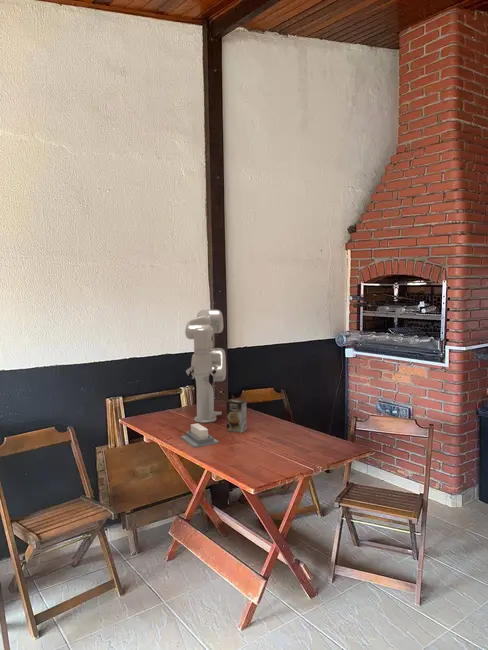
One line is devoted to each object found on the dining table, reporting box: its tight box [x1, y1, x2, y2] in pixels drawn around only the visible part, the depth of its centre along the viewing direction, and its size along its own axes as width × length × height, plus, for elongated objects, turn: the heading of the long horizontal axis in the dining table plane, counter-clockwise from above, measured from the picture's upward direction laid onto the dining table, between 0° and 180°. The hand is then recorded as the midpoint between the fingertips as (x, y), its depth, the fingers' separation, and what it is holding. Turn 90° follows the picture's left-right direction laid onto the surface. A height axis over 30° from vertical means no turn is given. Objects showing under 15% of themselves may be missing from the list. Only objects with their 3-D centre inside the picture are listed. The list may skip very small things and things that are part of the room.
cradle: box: [180, 430, 220, 449], centre depth 263 cm, size 13×17×3 cm
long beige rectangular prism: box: [190, 422, 209, 440], centre depth 263 cm, size 4×12×6 cm, turn 29°
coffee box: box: [226, 398, 247, 434], centre depth 279 cm, size 9×6×16 cm
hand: (202, 384), depth 270 cm, fingers open, 9 cm apart
